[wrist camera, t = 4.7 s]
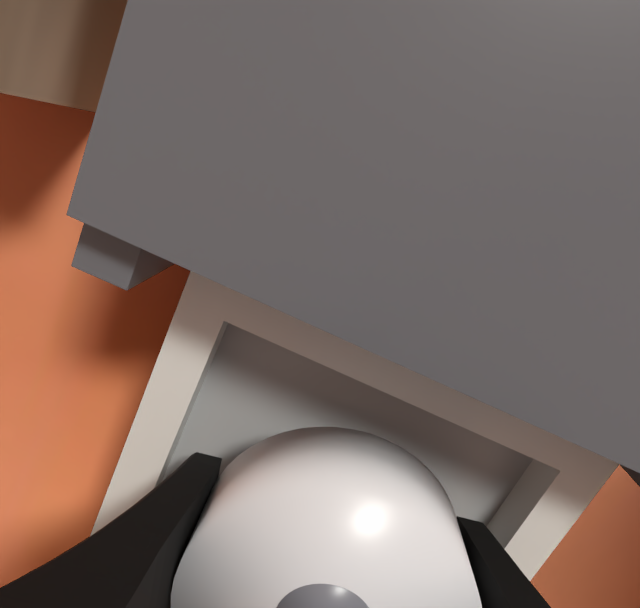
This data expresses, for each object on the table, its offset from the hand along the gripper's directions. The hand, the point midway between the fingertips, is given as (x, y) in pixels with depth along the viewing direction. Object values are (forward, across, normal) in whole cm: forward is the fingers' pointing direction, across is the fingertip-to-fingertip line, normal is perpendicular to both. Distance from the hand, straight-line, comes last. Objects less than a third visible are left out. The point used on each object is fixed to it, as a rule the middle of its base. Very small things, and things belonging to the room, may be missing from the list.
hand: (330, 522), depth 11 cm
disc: (-1, 0, 0) cm, 1 cm away
